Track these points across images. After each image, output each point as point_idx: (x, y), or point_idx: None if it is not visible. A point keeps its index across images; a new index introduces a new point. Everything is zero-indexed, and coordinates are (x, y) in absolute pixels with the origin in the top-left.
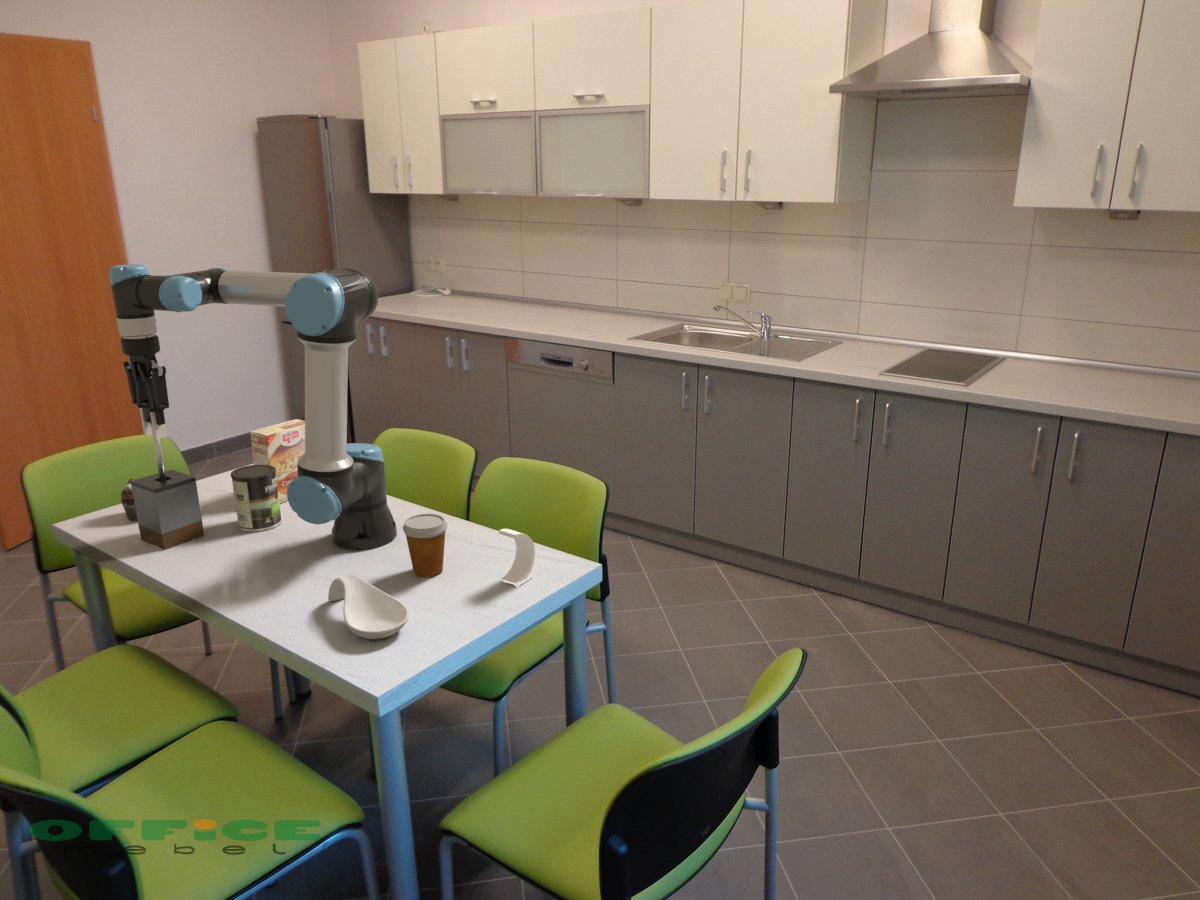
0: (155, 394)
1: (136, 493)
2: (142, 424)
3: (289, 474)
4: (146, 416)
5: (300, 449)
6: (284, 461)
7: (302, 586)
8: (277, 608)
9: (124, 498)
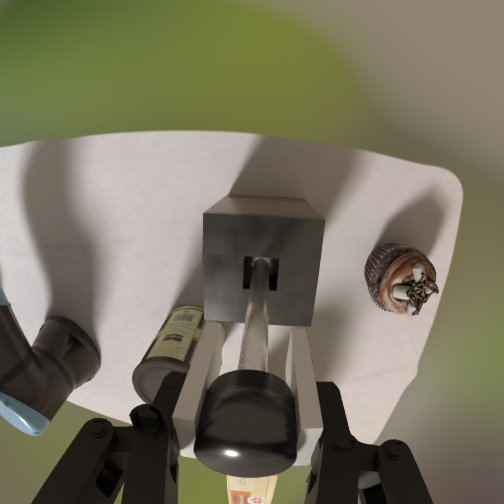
0: (58, 494)
1: (300, 213)
2: (310, 361)
3: None
4: (234, 392)
5: None
6: None
7: (18, 227)
8: (4, 183)
9: (412, 252)
